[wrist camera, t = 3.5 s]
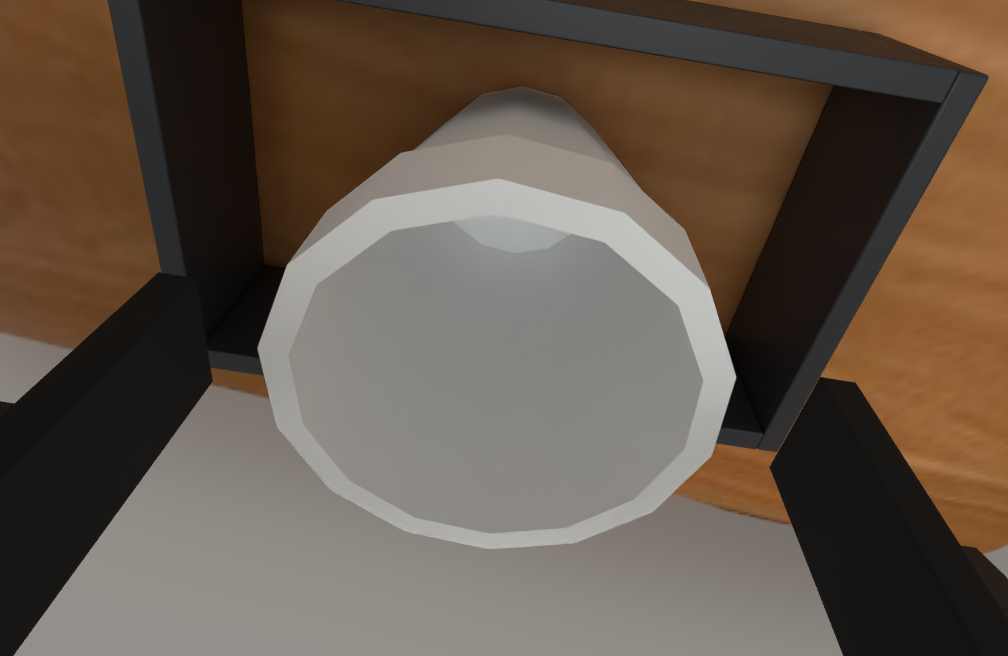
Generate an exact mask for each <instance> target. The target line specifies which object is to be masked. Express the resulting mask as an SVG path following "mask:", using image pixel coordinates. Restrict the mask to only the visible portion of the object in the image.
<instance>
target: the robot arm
mask: <svg viewBox="0 0 1008 656" xmlns="http://www.w3.org/2000/svg"><path fill="white" fill-rule="evenodd" d="M212 382H213V381H212V374H211V368H210V362H209V355H208V349H207V343H206V337H205V330H204V324H203V318H202V311H201V305H200V299H199V293H198V286H197V280H196V278H192V277H185V276H179V275H173V274H166V273H160V272H159V273H157V274H156V275H155V276H154V277H153V278H152V279H151V280H150V281H149V282H148V283H146V284H145V285H144V286H143V287H142V288H141V289H140V290H139V291H138V292H137V293H135V294H134V295H133V296H132V297H131V298H130V299H129V300H128V301H127V302H126V303H125V304H123V305H122V306H121V307H120V308H119V309H118V310H117V311H116V312H115V313H114V314H112V315H111V316H110V317H109V318H108V319H107V320H106V321H105V322H104V323H103V324H101V325H100V326H99V327H98V328H97V329H96V330H95V331H94V332H93V333H92V334H90V335H89V336H88V337H87V338H86V339H85V340H84V341H83V342H82V343H81V344H80V345H78V346H77V347H76V348H75V349H74V350H73V351H72V352H71V353H70V354H69V355H68V356H66V357H65V358H64V359H63V360H62V361H61V362H60V363H59V364H58V365H57V366H55V367H54V368H53V369H52V370H51V371H50V372H49V373H48V374H47V375H46V376H44V377H43V378H42V379H41V380H40V381H39V382H38V383H37V384H36V385H35V386H33V387H32V388H31V389H30V390H29V391H28V392H27V393H26V394H25V395H24V396H22V397H21V398H20V399H19V400H18V401H17V402H16V403H15V404H14V403H7V402H1V401H0V656H13V655H14V654H15V653H16V651H17V650H18V649H19V647H20V646H21V644H22V643H23V642H24V640H25V639H26V638H27V636H28V635H29V633H30V632H31V631H32V629H33V628H34V626H35V625H36V624H37V622H38V621H39V620H40V618H41V617H42V616H43V614H44V613H45V611H46V610H47V609H48V607H49V606H50V604H51V603H52V602H53V600H54V599H55V598H56V596H57V595H58V593H59V592H60V591H61V589H62V588H63V587H64V585H65V584H66V582H67V581H68V580H69V578H70V577H71V576H72V574H73V573H74V571H75V570H76V569H77V567H78V566H79V565H80V563H81V562H82V560H83V559H84V558H85V556H86V555H87V554H88V552H89V550H90V549H91V548H92V547H93V545H94V544H95V543H96V541H97V540H98V538H99V537H100V536H101V534H102V533H103V531H104V530H105V529H106V527H107V526H108V525H109V523H110V522H111V521H112V519H113V517H114V516H115V515H116V514H117V512H118V511H119V510H120V508H121V507H122V505H123V504H124V503H125V501H126V500H127V498H128V497H129V496H130V494H131V493H132V492H133V490H134V489H135V488H136V486H137V485H138V483H139V482H140V481H141V479H142V478H143V476H144V475H145V474H146V472H147V471H148V470H149V468H150V467H151V466H152V464H153V463H154V461H155V460H156V459H157V457H158V456H159V454H160V453H161V452H162V450H163V449H164V448H165V446H166V445H167V443H168V442H169V441H170V439H171V438H172V437H173V435H174V434H175V432H176V431H177V429H178V428H179V427H180V426H181V424H182V423H183V421H184V420H185V419H186V417H187V416H188V415H189V413H190V412H191V410H192V409H193V408H194V406H195V405H196V404H197V402H198V401H199V399H200V398H201V396H202V395H203V394H204V392H205V391H206V390H207V388H208V387H209V386H210V384H211V383H212ZM770 469H771V472H772V475H773V477H774V480H775V482H776V485H777V487H778V490H779V492H780V495H781V498H782V500H783V503H784V505H785V508H786V510H787V513H788V516H789V518H790V521H791V523H792V526H793V528H794V531H795V533H796V536H797V539H798V541H799V543H800V546H801V548H802V551H803V554H804V556H805V559H806V562H807V564H808V567H809V569H810V572H811V574H812V577H813V579H814V582H815V585H816V587H817V590H818V592H819V595H820V597H821V600H822V602H823V605H824V608H825V610H826V613H827V615H828V618H829V620H830V623H831V625H832V628H833V631H834V633H835V635H836V638H837V641H838V643H839V646H840V649H841V651H842V654H843V656H1008V579H1007V578H1006V576H1005V575H1004V574H1003V573H1001V572H1000V571H999V569H997V568H996V567H995V566H994V565H993V564H992V563H991V562H990V561H989V560H988V559H987V558H986V557H985V556H984V555H983V554H982V553H981V552H980V551H979V550H978V549H977V548H973V547H967V546H961V545H960V544H959V542H958V541H957V539H956V538H955V536H954V535H953V533H952V531H951V530H950V528H949V527H948V525H947V524H946V522H945V521H944V519H943V517H942V516H941V514H940V513H939V511H938V510H937V508H936V507H935V505H934V504H933V502H932V500H931V499H930V497H929V496H928V494H927V493H926V491H925V490H924V488H923V486H922V485H921V483H920V482H919V480H918V479H917V477H916V476H915V474H914V472H913V471H912V469H911V468H910V466H909V465H908V463H907V462H906V460H905V459H904V457H903V455H902V454H901V452H900V451H899V449H898V448H897V446H896V445H895V443H894V441H893V440H892V438H891V437H890V435H889V434H888V432H887V431H886V429H885V427H884V426H883V424H882V423H881V421H880V420H879V418H878V417H877V415H876V414H875V412H874V410H873V409H872V407H871V406H870V404H869V403H868V401H867V400H866V398H865V396H864V395H863V393H862V392H861V390H860V389H859V387H858V386H857V384H856V383H854V382H848V381H841V380H835V379H829V378H822V377H820V379H819V380H818V382H817V384H816V386H815V388H814V389H813V391H812V393H811V395H810V396H809V398H808V400H807V402H806V404H805V405H804V407H803V409H802V411H801V412H800V414H799V416H798V418H797V420H796V421H795V423H794V425H793V427H792V428H791V430H790V432H789V434H788V435H787V437H786V439H785V441H784V443H783V444H782V446H781V448H780V450H779V451H778V453H777V455H776V457H775V459H774V460H773V462H772V464H771V466H770Z"/></svg>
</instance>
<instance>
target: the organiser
mask: <svg viewBox="0 0 1008 656" xmlns="http://www.w3.org/2000/svg"><path fill="white" fill-rule="evenodd" d="M336 1H342V2H348V3H353V4H359V5H365V6H371V7H377V8H383V9H389V10H394V11H400V12H406V13H412V14H418V15H424V16H430V17H436V18H441V19H447V20H453V21H459V22H465V23H471V24H477V25H482V26H488V27H494V28H500V29H506V30H512V31H518V32H524V33H529V34H535V35H541V36H547V37H553V38H559V39H565V40H570V41H576V42H582V43H588V44H594V45H600V46H606V47H612V48H617V49H623V50H629V51H635V52H641V53H647V54H653V55H658V56H664V57H670V58H676V59H682V60H688V61H694V62H700V63H705V64H711V65H717V66H723V67H729V68H735V69H741V70H746V71H752V72H758V73H764V74H770V75H776V76H782V77H788V78H793V79H799V80H805V81H811V82H817V83H823V84H829V85H834V88H833V91H832V93H831V95H830V97H829V100H828V102H827V104H826V107H825V109H824V111H823V114H822V116H821V118H820V121H819V123H818V125H817V128H816V130H815V132H814V134H813V137H812V139H811V141H810V144H809V146H808V148H807V151H806V153H805V155H804V158H803V160H802V162H801V164H800V167H799V169H798V171H797V174H796V176H795V178H794V181H793V183H792V185H791V188H790V190H789V192H788V195H787V197H786V199H785V201H784V204H783V206H782V208H781V211H780V213H779V215H778V218H777V220H776V222H775V225H774V227H773V229H772V232H771V234H770V236H769V238H768V241H767V243H766V245H765V248H764V250H763V252H762V255H761V257H760V259H759V262H758V264H757V266H756V268H755V271H754V273H753V275H752V278H751V280H750V282H749V285H748V287H747V289H746V292H745V294H744V296H743V299H742V301H741V303H740V305H739V308H738V310H737V312H736V315H735V317H734V319H733V322H732V324H731V326H730V329H729V331H728V333H727V335H726V338H725V341H726V344H727V348H728V351H729V354H730V358H731V361H732V364H733V368H734V371H735V374H736V380H735V383H734V386H733V390H732V393H731V396H730V399H729V402H728V406H727V409H726V412H725V415H724V418H723V422H722V425H721V428H720V431H719V434H718V437H717V441H716V443H717V444H724V445H731V446H737V447H744V448H751V449H756V448H757V449H759V450H766V451H773V452H777V451H778V450H779V448H780V446H781V444H782V443H783V441H784V439H785V437H786V436H787V434H788V432H789V430H790V429H791V427H792V425H793V423H794V422H795V420H796V418H797V416H798V414H799V413H800V411H801V409H802V407H803V406H804V404H805V402H806V400H807V399H808V397H809V395H810V393H811V391H812V390H813V388H814V386H815V384H816V383H817V381H818V379H819V377H820V376H821V374H822V372H823V370H824V369H825V367H826V365H827V363H828V361H829V360H830V358H831V356H832V354H833V353H834V351H835V349H836V347H837V346H838V344H839V342H840V340H841V338H842V337H843V335H844V333H845V331H846V330H847V328H848V326H849V324H850V323H851V321H852V319H853V317H854V315H855V314H856V312H857V310H858V308H859V307H860V305H861V303H862V301H863V300H864V298H865V296H866V294H867V293H868V291H869V289H870V287H871V285H872V284H873V282H874V280H875V278H876V277H877V275H878V273H879V271H880V270H881V268H882V266H883V264H884V262H885V261H886V259H887V257H888V255H889V254H890V252H891V250H892V248H893V247H894V245H895V243H896V241H897V240H898V238H899V236H900V234H901V232H902V231H903V229H904V227H905V225H906V224H907V222H908V220H909V218H910V217H911V215H912V213H913V211H914V209H915V208H916V206H917V204H918V202H919V201H920V199H921V197H922V195H923V194H924V192H925V190H926V188H927V187H928V185H929V183H930V181H931V179H932V178H933V176H934V174H935V172H936V171H937V169H938V167H939V165H940V164H941V162H942V160H943V158H944V156H945V155H946V153H947V151H948V149H949V148H950V146H951V144H952V142H953V141H954V139H955V137H956V135H957V133H958V132H959V130H960V128H961V126H962V125H963V123H964V121H965V119H966V118H967V116H968V114H969V112H970V111H971V109H972V107H973V105H974V103H975V102H976V100H977V98H978V96H979V95H980V93H981V91H982V89H983V88H984V86H985V84H986V82H987V80H988V76H987V75H986V74H983V73H981V72H978V71H976V70H973V69H970V68H968V67H965V66H962V65H960V64H957V63H955V62H952V61H949V60H947V59H944V58H941V57H939V56H936V55H933V54H931V53H928V52H926V51H923V50H920V49H918V48H915V47H912V46H910V45H907V44H905V43H902V42H899V41H897V40H894V39H891V38H889V37H886V36H883V35H881V34H876V33H871V32H865V31H858V30H854V29H848V28H843V27H837V26H831V25H825V24H820V23H814V22H808V21H802V20H797V19H791V18H785V17H779V16H774V15H768V14H762V13H756V12H750V11H745V10H739V9H733V8H727V7H722V6H716V5H710V4H704V3H699V2H693V1H687V0H336ZM108 4H109V9H110V14H111V19H112V24H113V29H114V34H115V39H116V44H117V49H118V54H119V59H120V64H121V69H122V74H123V80H124V85H125V90H126V95H127V100H128V105H129V110H130V115H131V120H132V125H133V130H134V135H135V140H136V145H137V150H138V155H139V161H140V166H141V171H142V176H143V181H144V186H145V191H146V196H147V201H148V206H149V211H150V216H151V221H152V226H153V231H154V237H155V242H156V247H157V252H158V257H159V262H160V267H161V272H162V273H166V274H173V275H179V276H185V277H192V278H196V280H197V286H198V293H199V299H200V305H201V311H202V318H203V324H204V330H205V337H206V343H207V349H208V355H209V362H210V368H216V369H223V370H230V371H236V372H243V373H250V374H256V375H263V376H264V373H263V369H262V365H261V361H260V357H259V353H258V349H257V348H258V345H259V342H260V339H261V337H262V334H263V331H264V328H265V325H266V323H267V320H268V317H269V314H270V311H271V309H272V306H273V303H274V300H275V297H276V295H277V292H278V289H279V286H280V283H281V281H282V278H283V275H284V272H285V269H280V268H273V267H267V266H266V267H264V260H263V248H262V237H261V226H260V214H259V203H258V192H257V180H256V169H255V157H254V146H253V135H252V123H251V112H250V100H249V89H248V78H247V66H246V55H245V44H244V32H243V21H242V9H241V0H108Z"/></svg>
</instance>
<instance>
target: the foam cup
mask: <svg viewBox="0 0 1008 656" xmlns="http://www.w3.org/2000/svg"><path fill="white" fill-rule="evenodd" d="M257 349H258V353H259V357H260V361H261V365H262V369H263V373H264V377H265V381H266V385H267V390H268V394H269V398H270V402H271V406H272V410H273V414H274V418H275V422H276V426H277V428H278V429H279V431H280V432H281V433H282V434H283V435H284V436H285V437H286V439H287V440H288V441H289V442H290V443H291V445H292V446H293V447H294V448H295V449H296V450H297V452H298V453H299V454H300V455H301V456H302V457H303V459H304V460H305V461H306V462H307V463H308V464H309V465H310V467H311V468H312V469H313V470H314V471H315V473H316V474H317V475H318V476H319V477H320V479H321V480H322V481H323V482H324V483H325V484H326V486H327V487H328V488H329V489H330V490H331V491H333V492H335V493H337V494H338V495H340V496H342V497H344V498H346V499H347V500H349V501H351V502H353V503H355V504H356V505H358V506H360V507H362V508H364V509H365V510H367V511H369V512H371V513H373V514H375V515H377V516H378V517H380V518H382V519H383V520H385V521H387V522H389V523H391V524H393V525H394V526H396V527H398V528H400V529H401V530H403V531H406V532H410V533H416V534H420V535H425V536H429V537H434V538H439V539H443V540H448V541H452V542H458V543H462V544H466V545H471V546H476V547H481V548H486V549H499V548H514V547H528V546H542V545H557V544H570V543H576V542H579V541H581V540H584V539H586V538H589V537H591V536H594V535H596V534H599V533H601V532H604V531H606V530H609V529H611V528H614V527H616V526H619V525H622V524H624V523H627V522H629V521H631V520H634V519H637V518H639V517H642V516H644V515H647V514H649V513H652V512H653V511H654V510H655V509H656V508H658V507H659V506H660V505H661V504H662V503H663V502H664V501H665V500H666V499H667V498H668V497H669V496H670V495H671V494H672V493H673V492H674V491H675V490H676V489H677V488H678V487H680V486H681V485H682V484H683V483H684V482H685V481H686V480H687V479H688V478H689V477H690V476H691V475H692V474H693V473H694V472H695V471H696V470H697V469H698V468H699V467H700V466H702V465H703V464H704V463H705V462H706V461H707V460H708V459H709V458H710V457H711V456H712V453H713V450H714V447H715V444H716V441H717V437H718V434H719V431H720V428H721V425H722V422H723V418H724V415H725V412H726V409H727V406H728V402H729V399H730V396H731V393H732V390H733V386H734V383H735V380H736V374H735V371H734V368H733V364H732V361H731V358H730V354H729V351H728V348H727V344H726V341H725V338H724V334H723V331H722V328H721V324H720V321H719V318H718V314H717V311H716V308H715V304H714V301H713V298H712V294H711V291H710V288H709V286H708V283H707V281H706V279H705V276H704V274H703V271H702V269H701V267H700V264H699V262H698V260H697V257H696V255H695V252H694V250H693V248H692V245H691V243H690V241H689V238H688V236H687V233H686V231H685V230H684V229H683V228H682V227H681V226H680V225H679V224H678V223H677V222H676V221H675V220H674V219H672V218H671V217H670V216H669V215H668V214H667V213H666V212H665V211H664V210H663V209H662V208H661V207H659V206H658V205H657V204H656V203H655V202H654V201H653V200H652V199H651V198H650V197H649V196H647V195H646V194H645V193H644V192H643V191H642V190H641V189H640V187H639V186H638V185H637V183H636V182H635V181H634V179H633V178H632V177H631V176H630V174H629V173H628V172H627V170H626V169H625V168H624V166H623V165H622V164H621V163H620V161H619V160H618V159H617V157H616V156H615V155H614V153H613V152H612V151H611V150H610V148H609V147H608V146H607V144H606V143H605V142H604V140H603V139H602V138H601V136H600V135H599V134H598V133H597V131H596V130H595V129H594V128H593V127H592V126H591V124H590V123H589V122H588V121H586V120H585V119H584V118H583V117H582V116H581V115H580V114H579V113H578V112H577V111H576V110H575V109H574V108H573V107H572V106H570V105H569V104H568V103H567V102H566V101H565V100H564V99H563V98H562V97H559V96H556V95H552V94H549V93H545V92H542V91H538V90H535V89H531V88H528V87H524V86H520V87H515V88H510V89H505V90H499V91H494V92H489V93H484V94H482V95H481V96H479V97H478V98H476V99H475V100H474V101H473V102H471V103H470V104H469V105H467V106H466V107H465V108H464V109H462V110H461V111H460V112H458V113H457V114H456V115H455V116H453V117H452V118H451V119H449V120H448V121H447V122H446V123H445V124H443V125H442V126H441V127H440V128H439V129H438V130H436V131H435V132H434V133H433V134H432V135H430V136H429V137H428V138H427V139H426V140H425V141H423V142H422V143H421V144H420V145H419V146H418V147H416V148H415V149H414V150H413V151H408V152H402V153H400V154H399V155H397V156H396V157H395V158H394V159H392V160H391V161H390V162H388V163H387V164H386V165H385V166H383V167H382V168H381V169H380V170H378V171H377V172H376V173H374V174H373V175H372V176H371V177H369V178H368V179H367V180H365V181H364V182H363V183H362V184H360V185H359V186H358V187H357V188H355V189H354V190H353V191H351V192H350V193H349V194H348V195H346V196H345V197H344V198H342V199H341V200H340V201H339V202H337V203H336V204H335V205H334V206H332V207H331V208H330V209H328V210H327V211H326V212H325V214H324V215H323V216H322V218H321V219H320V221H319V222H318V223H317V225H316V226H315V227H314V229H313V230H312V232H311V233H310V234H309V236H308V237H307V238H306V240H305V241H304V242H303V244H302V245H301V247H300V248H299V249H298V251H297V252H296V253H295V255H294V256H293V257H292V259H291V260H290V262H289V263H288V264H287V267H286V269H285V272H284V275H283V278H282V281H281V283H280V286H279V289H278V292H277V295H276V297H275V300H274V303H273V306H272V309H271V311H270V314H269V317H268V320H267V323H266V325H265V328H264V331H263V334H262V337H261V339H260V342H259V345H258V348H257Z"/></svg>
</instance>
